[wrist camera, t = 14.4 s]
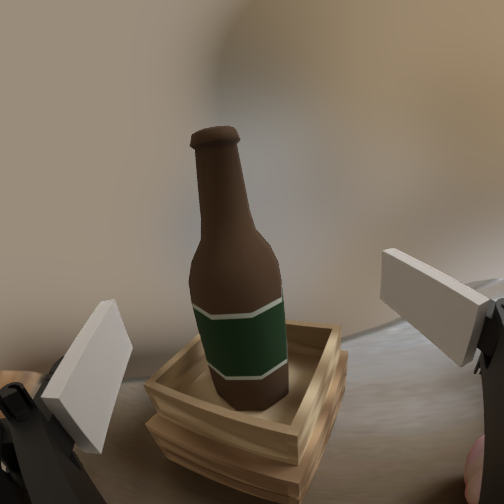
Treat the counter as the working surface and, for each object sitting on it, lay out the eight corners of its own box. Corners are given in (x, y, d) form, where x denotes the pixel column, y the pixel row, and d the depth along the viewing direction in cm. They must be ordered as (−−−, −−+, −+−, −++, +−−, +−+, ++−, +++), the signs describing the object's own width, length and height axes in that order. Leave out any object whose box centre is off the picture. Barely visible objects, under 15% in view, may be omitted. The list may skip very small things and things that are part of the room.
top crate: (229, 342, 36) (222, 311, 35) (339, 359, 30) (341, 325, 28) (159, 416, 24) (143, 383, 23) (298, 465, 17) (297, 436, 16)
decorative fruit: (512, 513, 6) (571, 462, 3) (446, 534, 9) (500, 495, 6) (503, 449, 14) (545, 389, 11) (446, 462, 17) (483, 405, 14)
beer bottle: (303, 370, 28) (282, 123, 21) (272, 423, 21) (230, 113, 14) (240, 357, 32) (204, 138, 24) (202, 400, 25) (139, 141, 18)
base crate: (238, 371, 40) (230, 334, 38) (344, 390, 33) (348, 351, 31) (166, 458, 25) (144, 424, 23) (299, 508, 18) (299, 483, 16)
